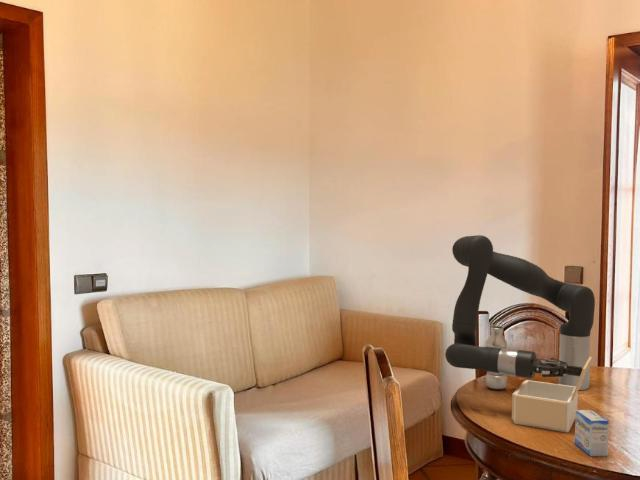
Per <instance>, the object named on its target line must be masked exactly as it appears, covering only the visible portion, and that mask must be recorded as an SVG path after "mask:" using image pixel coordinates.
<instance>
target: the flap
mask: <svg viewBox="0 0 640 480" xmlns="http://www.w3.org/2000/svg"><path fill="white" fill-rule="evenodd" d="M592 359H593V357H592V356H590V357H589V359H588V361H587V362H586V364H585V366H584V367H583V369H582V372H581V375H580V377H579V380H578V382H577V385H576V388H575V390H574V393H573V395H572V398H571V400H572V401H573V399H574V398H575V396H576V394H577V392H578V393H579V391H580V390H579V389H580V387H581V384H582V382H583V379H584V377H585V374H586V371H587V369H588V366H589V364H590V365H591V361H592Z"/></svg>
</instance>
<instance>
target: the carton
mask: <svg viewBox="0 0 640 480" xmlns="http://www.w3.org/2000/svg"><path fill="white" fill-rule="evenodd" d="M575 388H576V387H574V386H567V385H560V384H558V383H551V382H543V381H537V380H536V381H535V380H532V379H531V380H530V379H529V380H528V379H527V380H523V382H521V384H520V385H519V386H518V387H517V388H516V389H515V391H513V393H512V395H511V420H512V421H513V424H515V425H516V424H517V425H521V426H527V427H534V428H538V429H545V430H550V431H557V432H562V433H569V432H570V430H571V429H572V426H573V425H574V423H575V420H576V411H577V410H578V402H579V401H578V399H579V397H578V396H579V395H578V394H579V391H578V392H577V394H576V396H575V398H574V399H573V401H572V400H571V398H572V395H573V393H574V390H575Z"/></svg>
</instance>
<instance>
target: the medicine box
mask: <svg viewBox="0 0 640 480" xmlns="http://www.w3.org/2000/svg"><path fill="white" fill-rule="evenodd" d="M574 423H575V424H574V426H575V427H574V444H575V446H577V447H578V448H579V449H581V450H582V451H583V452H585V454H587V455H588V456H590V457H606V456H607V457H608V451H609V429H610V428H609V425H610V424H609V420H608V419H606V418H604V417H603V416H601V415H600V414H598V413H596V412H595V411H593V410H592V409H591V410H590V409H581V410H580V409H577V411H576V418H575V420H574Z"/></svg>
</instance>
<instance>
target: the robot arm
mask: <svg viewBox="0 0 640 480" xmlns="http://www.w3.org/2000/svg"><path fill="white" fill-rule="evenodd" d="M451 249H452V255H453V258H454V259H455V260H456V261H457V263H458V264H460V265H462V266H465V267H467V268H468V270H467V277H466V280H465V283H464V285H463V286H462V290H461V291H460V293H459V295H458V297H457V300H456V302H455V305H454V309H453V310H454V311H453V316H452V323H451V328H452V332H453V334H454V335H453V336H454V337H453V338H454V339H453V343H452V344H450V345H449V346H448V347H447V348H446V350H445V355H444V356H445V359H446V361H447V363H448V364H449V365H450V366H452V367H454V368H458V369H459V368H460V369H469V370H481V371H485V372H487V371H488V372H495V373H501V374H505V375H506V376H509V377H518V378H522V379H524V378H525V379H529V380H530V379H531V380H532V379H534V377H535V376H536V374H540V376H541V377H542V378H554V377H555V378H556V377H557V378H558V382H557V384H560V385H567V386H574V387H576V385H577V382H578V380H579V377H580V375H581V372H582V369H583V367H584V366H585V364H586V362H587V361H588V359H589V357H590V355H591V353H590V352H591V332H592V331H591V330H592V328H593V326H594V319H595V318H594V317H595V306H596V299H595V294H594V291H593V290H592V289H591V288H590V287H588V286H584V285H579V284H573V283H568V282H564V281H561V280H558V279H555V278H553V277H551V276H550V275H549V274H547V272H546V271H545V270H544V269H543V268H541V267H540V266H538V265H537V264H535V263H533V262H530V261H528V260H526V259H524V258H520V257H518V256H515V255H509V254H505V253H501V252H496V251H494V245H493V243H492V241H491V240H490V239H489V238H488V237H487V236H485V235H482V234H481V235H480V234H478V235H477V234H476V235H467V236H463V237H460V238H458V239H457V240H455V242H454V243H453V246H452V248H451ZM488 275H489V276H491V277H493V278H495V279H496V280H499V281H501V282H503V283H505V284H507V285H510V286H511V287H513V288H515V289H517V290H520V291H522V292H524V293H526V294H528V295H529V294H530V295H532V296H535V297H537V298H538V297H539V298H542V299H543V300H546V301H547V302H548V303H551V304H552V305H553V306H555V307H557V308H558V309H560V310H562V311H564V312H567V313H569V318H568V319H569V320H568V321H567V322H564V323H561V324H560V326H559V349H558V351H559V352H558V356H559V357H558V359H556V358H554V357H551V358H550V359H549V358H546V357H544V358H542V359H541V358H540V359H538V358H537V354H536V352H535V351H532V350H531V351H530V350H522V349H514V348H507V349H501V348H493V347H487V346H477V343H476V342H477V340H476V339H477V337H476V331H477V325H478V317H479V310H480V304H481V298H482V294H483V290H484V286H485V283H486V281H487V276H488ZM590 376H591V363H590V364H589V366H588V369H587V371H586V374H585V377H584V379H583V382H582V384H581V387H580V389H579V390H578V391H585V390H587V389H589V388H590V383H591V379H590Z"/></svg>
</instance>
